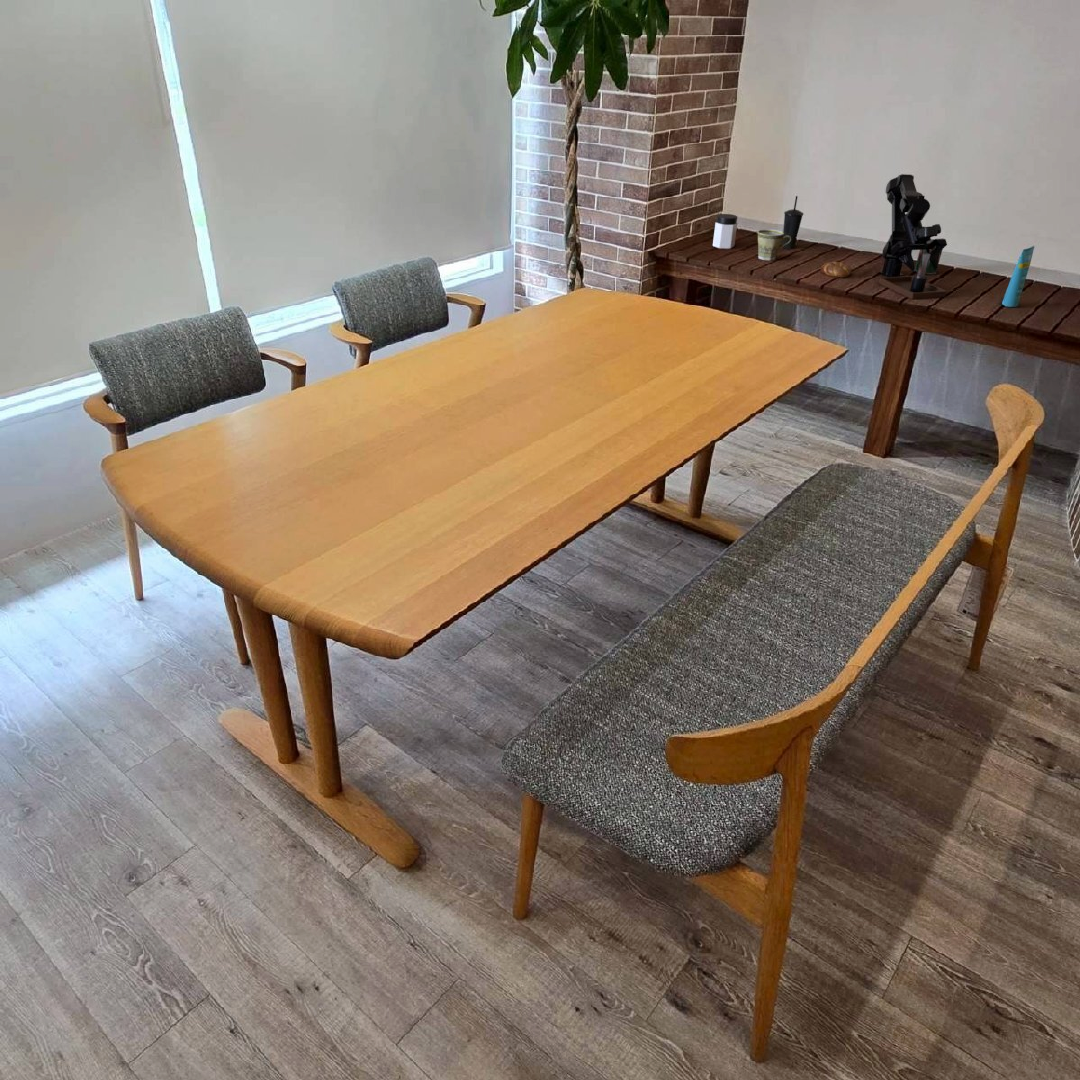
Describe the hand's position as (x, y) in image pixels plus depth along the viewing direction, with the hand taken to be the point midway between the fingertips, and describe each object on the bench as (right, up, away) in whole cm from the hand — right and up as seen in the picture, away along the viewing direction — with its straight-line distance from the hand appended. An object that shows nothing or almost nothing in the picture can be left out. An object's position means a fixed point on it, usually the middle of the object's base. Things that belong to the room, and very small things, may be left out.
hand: (925, 269), depth 289 cm
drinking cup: (-31, +27, +57) cm, 70 cm away
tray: (-1, -5, +8) cm, 9 cm away
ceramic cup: (-42, +17, +41) cm, 61 cm away
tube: (+26, -14, -5) cm, 31 cm away
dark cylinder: (0, -6, +5) cm, 8 cm away
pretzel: (-22, +6, +24) cm, 33 cm away
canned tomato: (+13, +8, +29) cm, 33 cm away
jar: (-58, +28, +56) cm, 85 cm away
